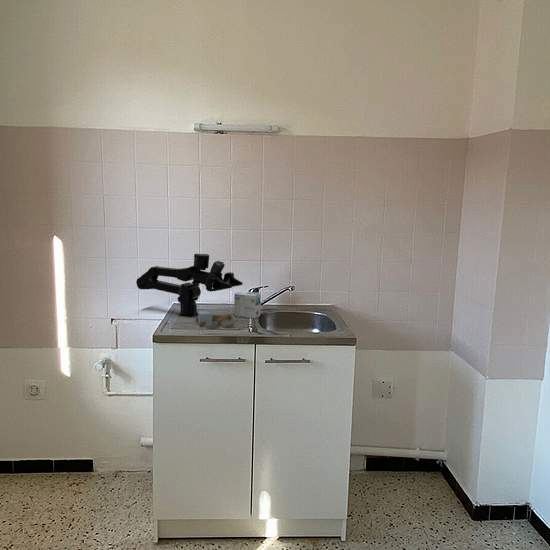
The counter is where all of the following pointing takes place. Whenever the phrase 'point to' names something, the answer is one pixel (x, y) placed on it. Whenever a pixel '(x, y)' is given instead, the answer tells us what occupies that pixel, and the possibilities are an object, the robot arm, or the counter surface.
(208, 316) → the slate block
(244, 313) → the light bulb box
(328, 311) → the counter surface
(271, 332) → the counter surface
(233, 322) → the trap lane
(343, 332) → the counter surface
